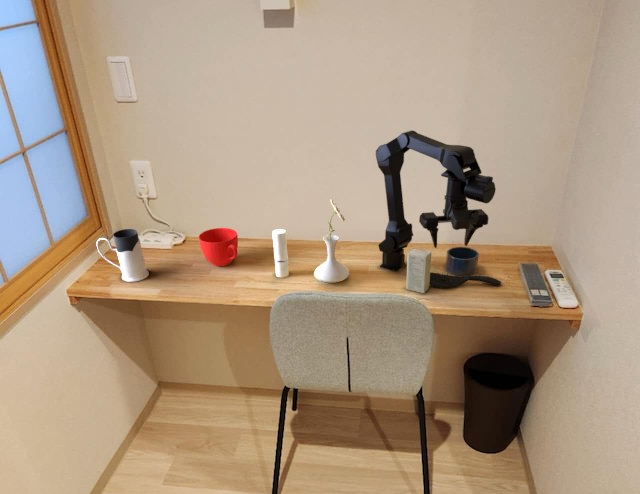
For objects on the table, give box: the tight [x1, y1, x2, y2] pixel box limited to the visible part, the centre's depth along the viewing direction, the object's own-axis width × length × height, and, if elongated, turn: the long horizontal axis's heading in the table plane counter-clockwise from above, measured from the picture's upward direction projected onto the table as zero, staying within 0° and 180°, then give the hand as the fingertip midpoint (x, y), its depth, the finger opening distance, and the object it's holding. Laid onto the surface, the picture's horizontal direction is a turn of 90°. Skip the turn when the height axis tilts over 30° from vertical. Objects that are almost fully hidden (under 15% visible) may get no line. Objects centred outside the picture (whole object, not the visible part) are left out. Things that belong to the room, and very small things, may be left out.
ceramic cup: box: [198, 227, 239, 267], centre depth 186 cm, size 13×17×10 cm
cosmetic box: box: [405, 248, 432, 294], centre depth 166 cm, size 6×4×12 cm
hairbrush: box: [429, 270, 502, 290], centre depth 171 cm, size 8×4×25 cm
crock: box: [444, 246, 480, 276], centre depth 179 cm, size 10×10×6 cm
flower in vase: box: [313, 198, 350, 284], centre depth 171 cm, size 13×11×25 cm
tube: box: [271, 228, 290, 278], centre depth 176 cm, size 4×4×15 cm
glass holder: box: [95, 228, 150, 283], centre depth 179 cm, size 9×14×15 cm, turn 94°
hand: (450, 246), depth 162 cm, fingers open, 9 cm apart
